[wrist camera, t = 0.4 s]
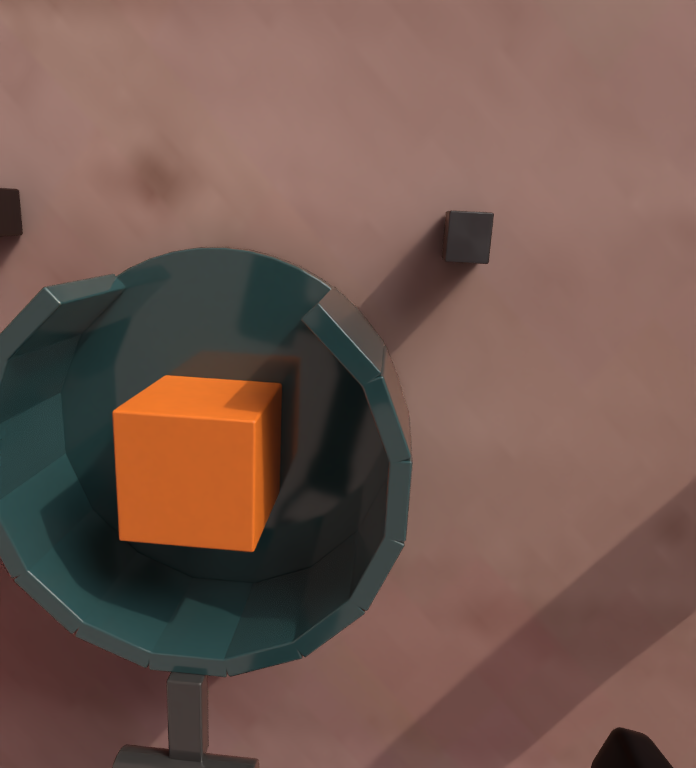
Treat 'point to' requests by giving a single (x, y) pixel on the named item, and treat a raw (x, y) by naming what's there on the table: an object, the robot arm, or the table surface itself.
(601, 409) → the table surface
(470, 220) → the dark small pieces
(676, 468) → the table surface
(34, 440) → the saucepan
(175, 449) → the cube
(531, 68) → the table surface
